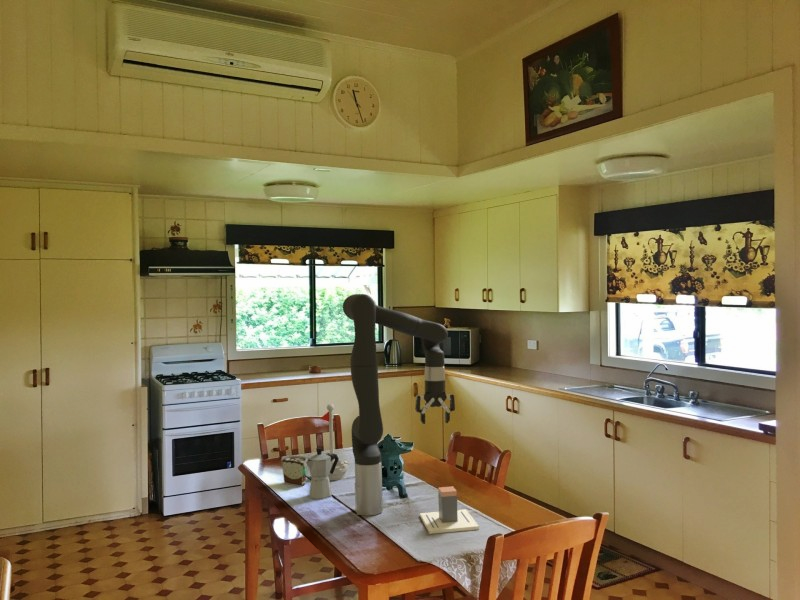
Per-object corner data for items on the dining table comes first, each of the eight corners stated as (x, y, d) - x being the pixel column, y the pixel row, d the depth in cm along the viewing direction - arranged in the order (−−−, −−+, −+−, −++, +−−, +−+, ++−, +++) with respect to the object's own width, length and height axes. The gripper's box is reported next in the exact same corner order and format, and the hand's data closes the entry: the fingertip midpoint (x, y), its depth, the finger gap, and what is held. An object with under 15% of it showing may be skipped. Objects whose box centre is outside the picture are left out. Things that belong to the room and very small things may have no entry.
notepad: (429, 533, 209) (429, 530, 209) (419, 516, 225) (419, 513, 225) (479, 529, 212) (478, 526, 212) (465, 512, 228) (465, 509, 228)
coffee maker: (313, 502, 242) (311, 453, 242) (299, 497, 249) (298, 449, 248) (346, 492, 252) (344, 445, 252) (332, 487, 259) (330, 441, 258)
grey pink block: (442, 522, 216) (441, 492, 215) (439, 517, 220) (438, 487, 220) (457, 521, 216) (456, 490, 216) (453, 516, 221) (452, 486, 221)
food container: (315, 482, 266) (314, 457, 266) (305, 487, 261) (304, 461, 261) (291, 478, 273) (290, 454, 273) (281, 482, 268) (280, 457, 267)
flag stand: (335, 470, 283) (332, 399, 282) (355, 475, 274) (352, 403, 273) (310, 477, 274) (307, 404, 273) (330, 483, 265) (327, 408, 264)
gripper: (417, 380, 238) (418, 426, 238) (456, 379, 240) (456, 424, 240) (413, 378, 245) (414, 422, 245) (451, 376, 247) (451, 420, 248)
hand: (435, 423), depth 243 cm, fingers open, 8 cm apart
